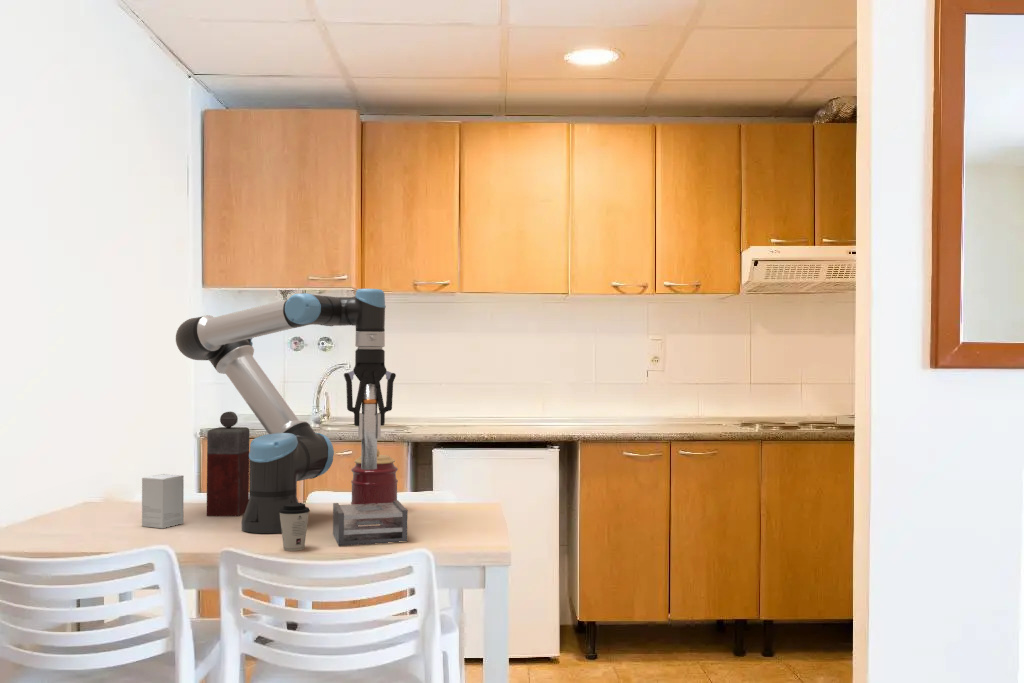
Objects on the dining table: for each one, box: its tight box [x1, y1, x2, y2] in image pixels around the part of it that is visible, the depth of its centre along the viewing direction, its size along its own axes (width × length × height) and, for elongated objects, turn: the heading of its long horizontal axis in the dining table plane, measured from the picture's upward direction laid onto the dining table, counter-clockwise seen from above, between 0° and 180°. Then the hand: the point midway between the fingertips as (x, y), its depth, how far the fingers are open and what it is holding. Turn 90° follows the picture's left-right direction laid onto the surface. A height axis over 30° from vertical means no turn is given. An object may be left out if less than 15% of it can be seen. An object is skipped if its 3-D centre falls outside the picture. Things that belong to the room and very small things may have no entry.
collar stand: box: [332, 499, 409, 547], centre depth 212 cm, size 16×14×8 cm
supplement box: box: [141, 473, 185, 529], centre depth 225 cm, size 7×7×13 cm
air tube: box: [360, 384, 378, 470], centre depth 228 cm, size 4×4×22 cm
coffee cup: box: [279, 502, 311, 552], centre depth 200 cm, size 7×7×10 cm
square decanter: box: [206, 411, 250, 517], centre depth 243 cm, size 9×11×28 cm
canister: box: [350, 448, 399, 511], centre depth 247 cm, size 13×13×18 cm
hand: (369, 438), depth 228 cm, fingers closed on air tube, 4 cm apart
